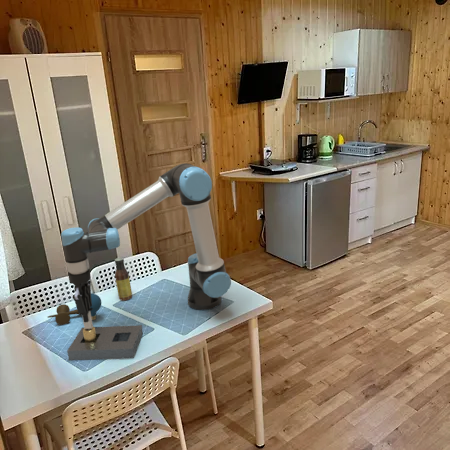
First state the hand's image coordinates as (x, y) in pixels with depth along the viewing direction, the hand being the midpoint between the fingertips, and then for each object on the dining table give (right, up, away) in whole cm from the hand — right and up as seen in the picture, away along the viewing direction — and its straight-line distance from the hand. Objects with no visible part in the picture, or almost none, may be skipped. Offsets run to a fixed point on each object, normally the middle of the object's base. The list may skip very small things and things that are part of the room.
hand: (88, 327), depth 162 cm
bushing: (0, -8, +3) cm, 9 cm away
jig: (+6, -8, +2) cm, 10 cm away
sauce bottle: (+4, +4, +41) cm, 41 cm away
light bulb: (-5, -2, +23) cm, 23 cm away
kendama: (-15, -2, +25) cm, 30 cm away
